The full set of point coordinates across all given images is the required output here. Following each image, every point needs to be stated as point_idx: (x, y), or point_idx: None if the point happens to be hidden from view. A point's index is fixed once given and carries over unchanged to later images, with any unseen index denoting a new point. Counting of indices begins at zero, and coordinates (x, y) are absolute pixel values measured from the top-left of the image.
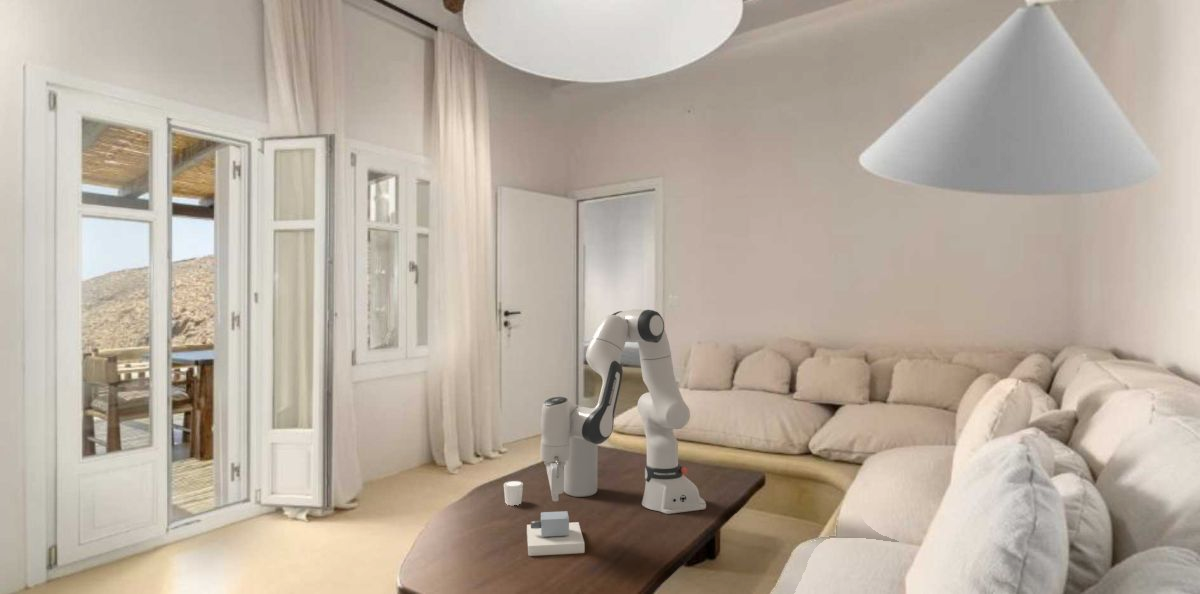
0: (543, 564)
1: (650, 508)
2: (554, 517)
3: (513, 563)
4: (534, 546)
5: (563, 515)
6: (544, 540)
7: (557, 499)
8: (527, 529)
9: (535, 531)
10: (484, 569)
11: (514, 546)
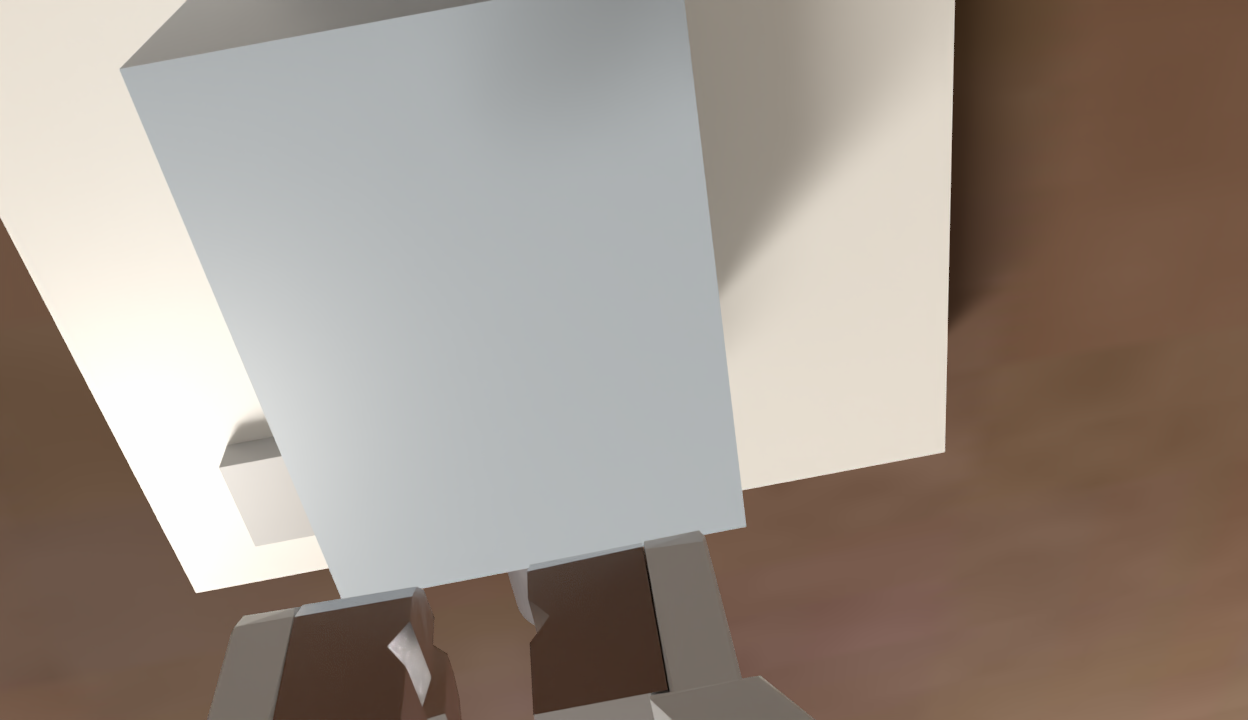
0: (1166, 177)
1: None
2: (615, 323)
3: (1060, 482)
4: (941, 381)
5: (473, 136)
6: (775, 287)
7: (705, 570)
8: None
9: None
10: (1127, 665)
11: None
